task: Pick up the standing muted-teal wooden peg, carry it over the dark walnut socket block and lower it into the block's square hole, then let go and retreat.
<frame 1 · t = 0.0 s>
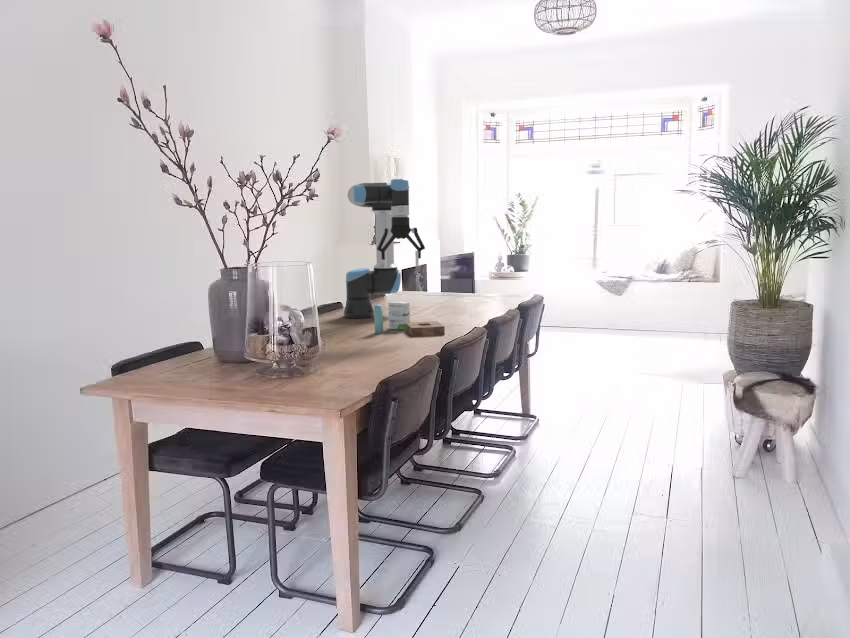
hand: (401, 267, 300), 28 cm above the table, fingers open, 13 cm apart
peg: (379, 333, 302), on the table
ink box: (399, 329, 312), on the table
socket: (424, 332, 301), on the table
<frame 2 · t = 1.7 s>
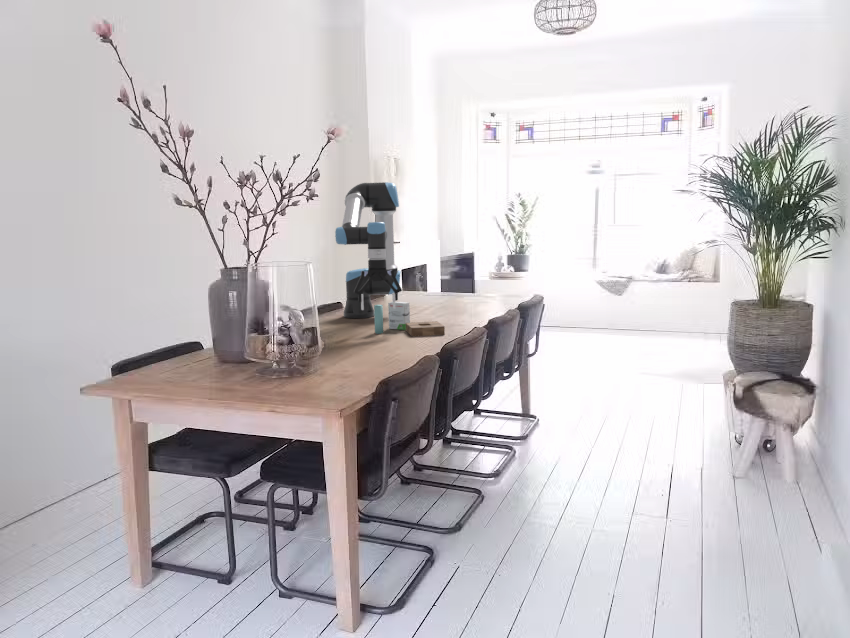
hand: (378, 309, 300), 10 cm above the table, fingers open, 13 cm apart
nothing on the table moved.
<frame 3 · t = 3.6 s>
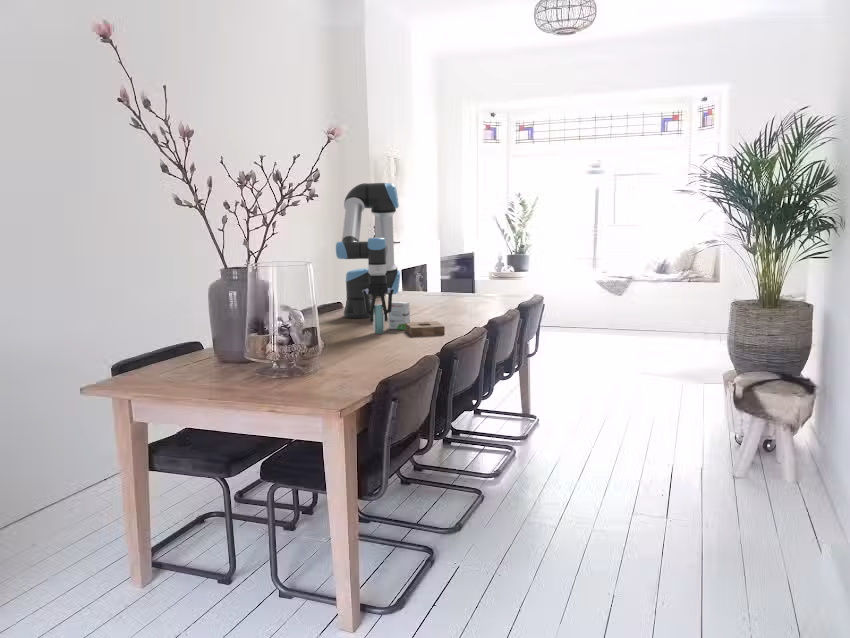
hand: (378, 328, 302), 2 cm above the table, fingers closed on peg, 3 cm apart
peg: (379, 332, 302), on the table, touching gripper
everything else where it was.
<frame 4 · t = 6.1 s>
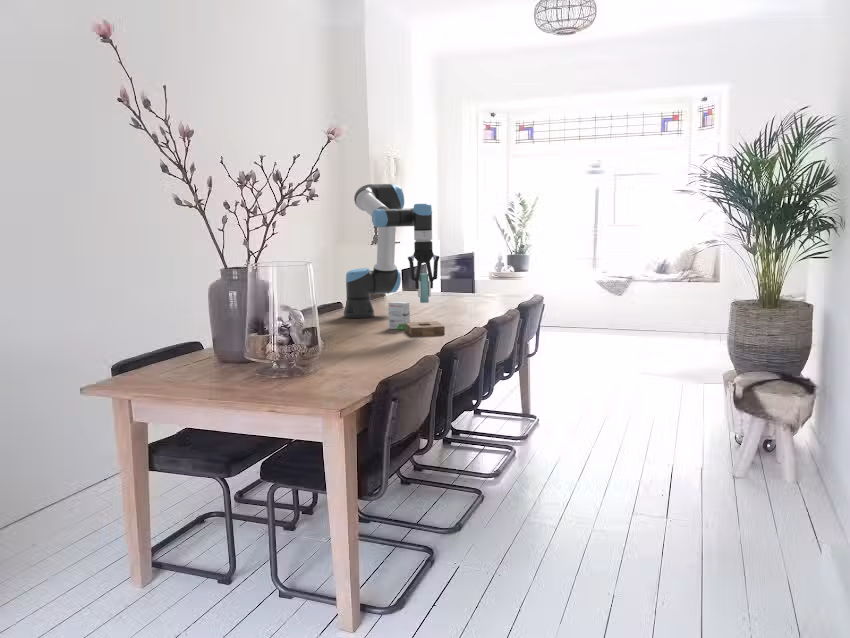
hand: (424, 296, 299), 16 cm above the table, fingers closed on peg, 3 cm apart
peg: (424, 302, 299), point 13 cm above the table, touching gripper
everything else where it was.
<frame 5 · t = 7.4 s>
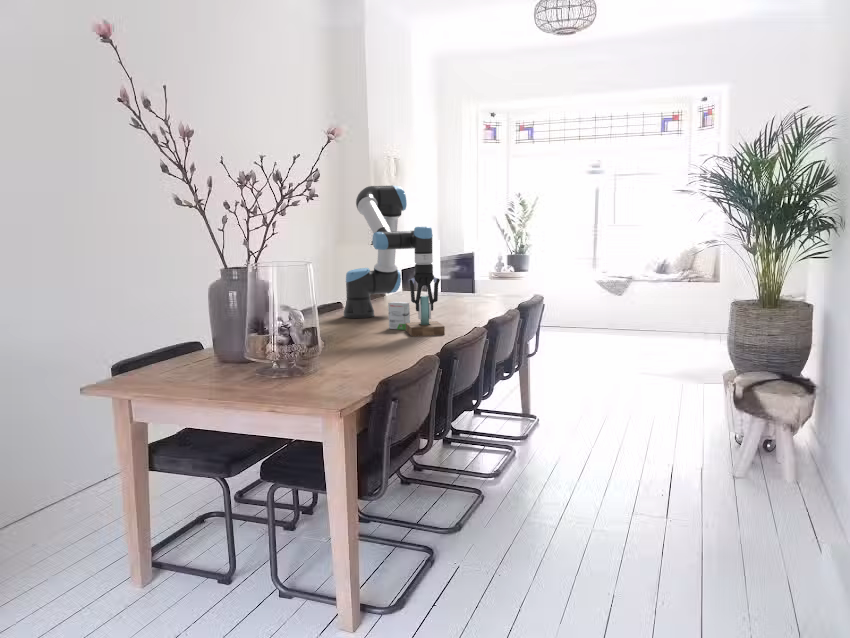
hand: (424, 318, 300), 6 cm above the table, fingers closed on peg, 3 cm apart
peg: (424, 324, 300), point 4 cm above the table, touching gripper
everything else where it was.
when the fingers open (4 cm above the table, at t = 8.6 s): peg drops 2 cm, resting in socket.
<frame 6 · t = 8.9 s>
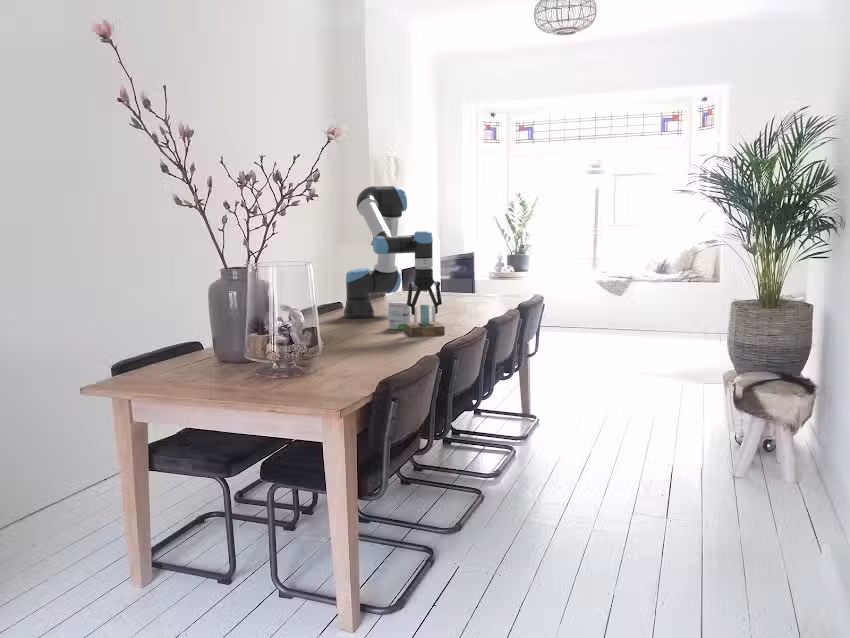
hand: (424, 321, 300), 5 cm above the table, fingers open, 7 cm apart
peg: (425, 332, 301), resting in socket
everything else where it was.
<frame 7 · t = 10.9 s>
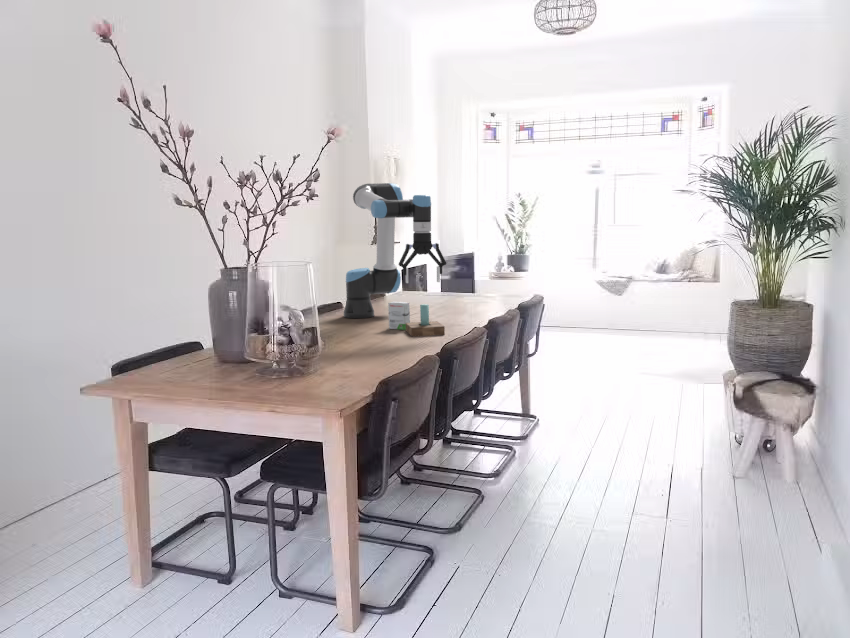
hand: (422, 282, 300), 21 cm above the table, fingers open, 13 cm apart
nothing on the table moved.
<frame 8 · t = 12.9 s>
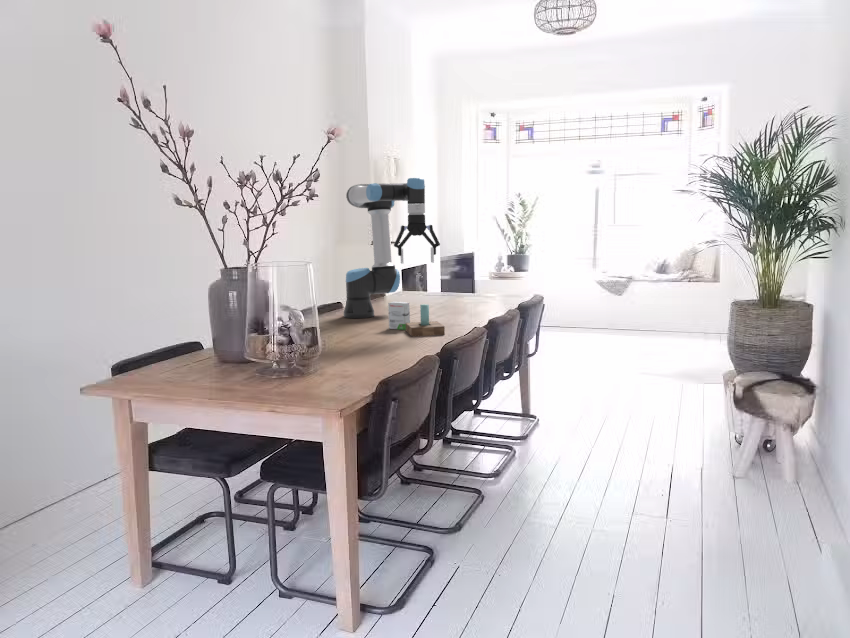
hand: (417, 262, 310), 29 cm above the table, fingers open, 13 cm apart
nothing on the table moved.
at the end: peg 0.1 cm off-centre on the socket, point 0.0 cm above the socket's base; peg tilted 0°; the gripper is holding nothing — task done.
